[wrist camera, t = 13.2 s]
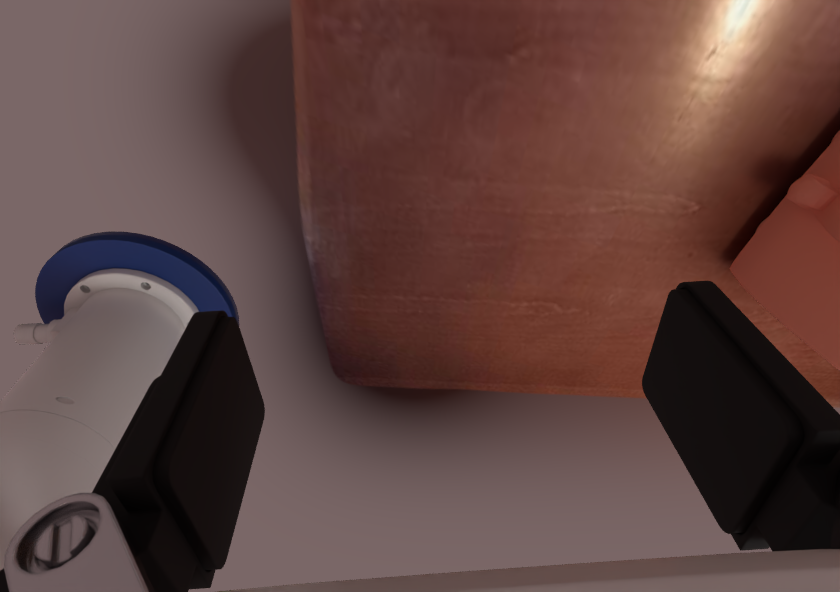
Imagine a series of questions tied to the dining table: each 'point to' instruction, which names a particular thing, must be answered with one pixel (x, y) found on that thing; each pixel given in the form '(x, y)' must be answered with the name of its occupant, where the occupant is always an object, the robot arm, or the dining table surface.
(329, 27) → the dining table surface
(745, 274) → the teapot
